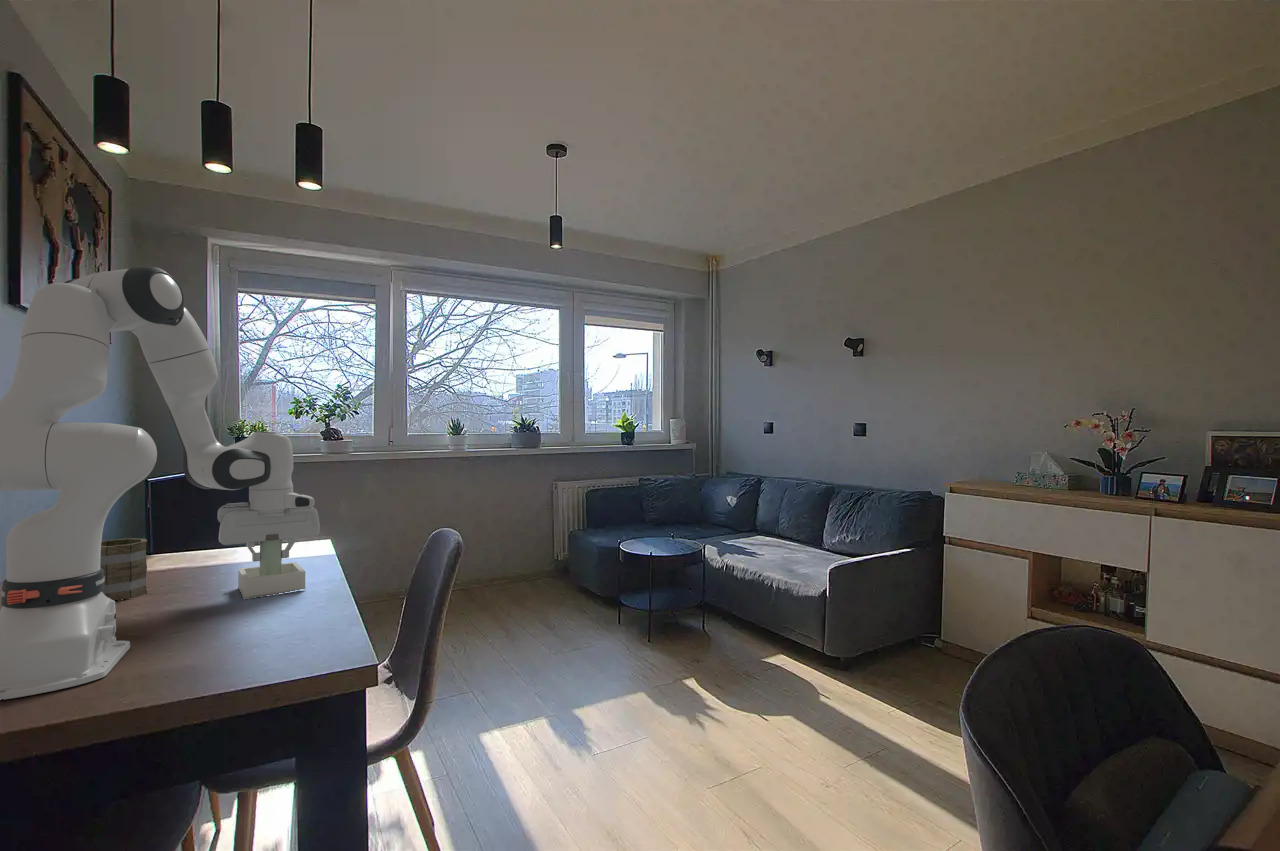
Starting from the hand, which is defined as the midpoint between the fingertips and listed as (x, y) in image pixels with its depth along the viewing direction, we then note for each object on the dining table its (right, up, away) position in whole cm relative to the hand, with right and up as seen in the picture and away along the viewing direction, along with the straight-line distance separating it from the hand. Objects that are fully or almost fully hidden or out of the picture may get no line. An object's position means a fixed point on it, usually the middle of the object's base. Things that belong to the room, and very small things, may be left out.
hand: (270, 559), depth 142 cm
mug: (-33, -7, -5) cm, 34 cm away
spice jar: (0, -4, 0) cm, 4 cm away
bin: (0, -7, 0) cm, 7 cm away
